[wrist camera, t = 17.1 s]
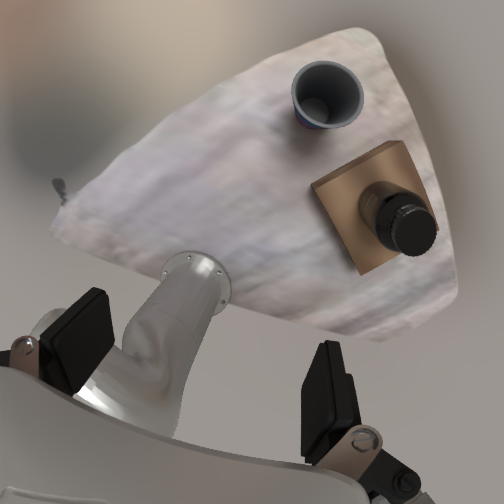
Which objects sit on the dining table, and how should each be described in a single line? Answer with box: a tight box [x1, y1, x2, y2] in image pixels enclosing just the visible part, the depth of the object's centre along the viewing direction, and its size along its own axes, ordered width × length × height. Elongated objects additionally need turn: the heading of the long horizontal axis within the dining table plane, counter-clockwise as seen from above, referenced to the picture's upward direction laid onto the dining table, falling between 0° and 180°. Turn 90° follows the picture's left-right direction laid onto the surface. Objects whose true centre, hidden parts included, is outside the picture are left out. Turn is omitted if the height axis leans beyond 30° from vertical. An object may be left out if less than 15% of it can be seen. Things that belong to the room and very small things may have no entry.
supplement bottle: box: [359, 181, 437, 257], centre depth 28 cm, size 7×7×12 cm
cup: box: [291, 61, 364, 129], centre depth 28 cm, size 7×7×15 cm
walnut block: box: [311, 141, 439, 276], centre depth 37 cm, size 14×14×6 cm
